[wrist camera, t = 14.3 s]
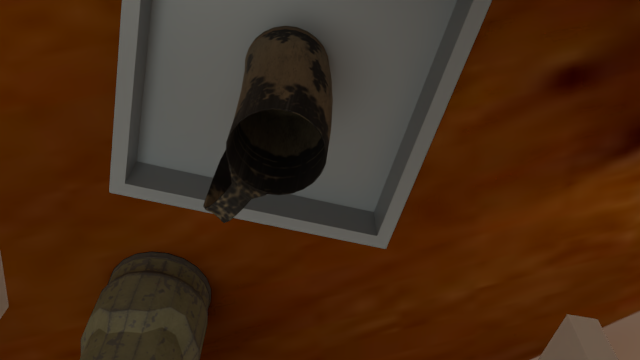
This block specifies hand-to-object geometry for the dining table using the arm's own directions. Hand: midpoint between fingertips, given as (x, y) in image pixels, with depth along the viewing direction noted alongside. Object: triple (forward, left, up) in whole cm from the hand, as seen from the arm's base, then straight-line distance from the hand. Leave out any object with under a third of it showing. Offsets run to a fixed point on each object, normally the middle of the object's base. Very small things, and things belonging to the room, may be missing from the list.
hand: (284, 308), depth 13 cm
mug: (+1, +5, -25) cm, 26 cm away
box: (0, +5, -26) cm, 26 cm away
